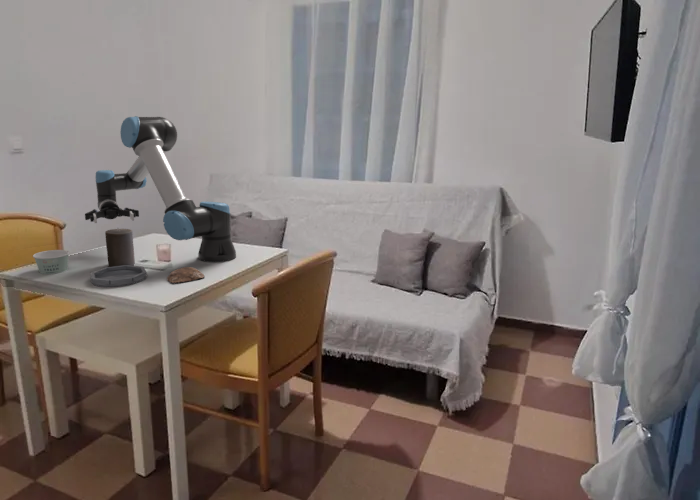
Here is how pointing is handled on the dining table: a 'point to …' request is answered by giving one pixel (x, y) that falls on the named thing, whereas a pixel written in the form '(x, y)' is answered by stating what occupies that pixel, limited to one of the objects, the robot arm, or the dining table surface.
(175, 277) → the shell
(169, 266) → the dining table surface
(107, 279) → the tray
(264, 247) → the dining table surface
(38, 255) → the food container
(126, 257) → the pillar candle
